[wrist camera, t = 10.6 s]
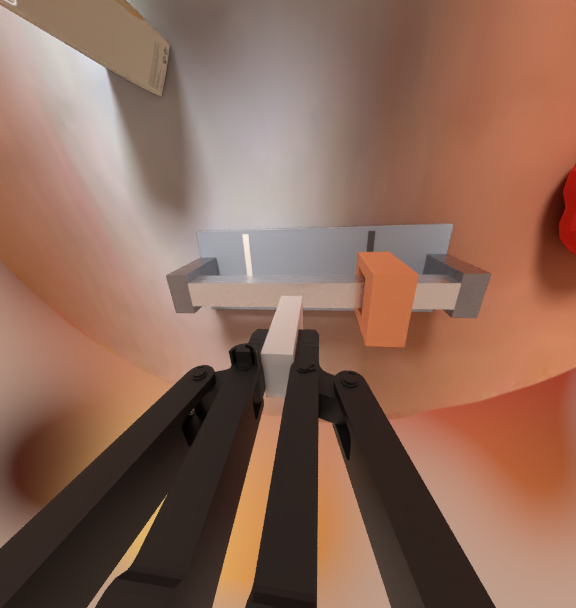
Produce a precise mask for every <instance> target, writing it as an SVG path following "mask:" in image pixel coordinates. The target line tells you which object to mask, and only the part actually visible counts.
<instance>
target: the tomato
mask: <svg viewBox="0 0 576 608" xmlns="http://www.w3.org/2000/svg"><path fill="white" fill-rule="evenodd" d="M563 195H564V201H565V207H566V208H565V210H564V213H563V215H562V217H561V220H560V222H559V237H560V239H561V241H562V243H563V244H564V245H565V247H566V248H567V249H568V250H569V251H570V252H572V253H574V254H576V164H575V166H574V167H573V169H572V170H571V171H570V173H569V174H568V177H567V180H566V183H565V186H564V189H563Z"/></svg>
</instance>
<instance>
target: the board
mask: <svg viewBox="0 0 576 608" xmlns="http://www.w3.org/2000/svg"><path fill="white" fill-rule="evenodd" d="M453 225H454V224H449V223H446V224H413V225H381V226H349V227H316V228H284V229H252V230H219V231H198V232H196V236H197V241H198V246H199V251H200V256H201V258H204V257H216V259H217V265H218V270H219V276H231V275H356V266H357V253H358V252H390V253H392V254H393V255H394V256H396V257H397V258H398V259H399V260H401V261H402V262H403V263H405V264H406V265H407V266H408V267H410V268H411V269H412V270H414V271H415V272H416V273H417V274H419V275H423V270H424V265H425V260H426V255H427V254H447V250H448V246H449V242H450V237H451V233H452V229H453ZM211 309H256V310H276V309H277V307H219V306H211ZM303 310H325V311H354V308H303ZM412 312H433V309H412Z"/></svg>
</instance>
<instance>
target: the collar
mask: <svg viewBox="0 0 576 608" xmlns="http://www.w3.org/2000/svg"><path fill="white" fill-rule="evenodd" d="M356 275H364V277H365V287H364V297H363V307H362V308H354V311H355V314H356V317H357V320H358V324H359V327H360V330H361V333H362V337H363V340H364V343H365V346H380V347H405V342H406V337H407V332H408V327H409V322H410V317H411V312H412V307H413V302H414V297H415V292H416V287H417V281H418V276H419V274H417V273H416V272H415V271H414V270H412V269H411V268H410V267H408V266H407V265H406V264H405V263H403V262H402V261H401V260H399V259H398V258H397V257H396V256H394V255H393V254H392V253H390V252H358V253H357V266H356Z"/></svg>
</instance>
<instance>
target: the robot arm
mask: <svg viewBox="0 0 576 608" xmlns="http://www.w3.org/2000/svg"><path fill="white" fill-rule="evenodd" d="M229 354H230V359H231V364H232V366H231V368H230V369H227V370H222V371H217V372H214V369H213V368H212V367H211V366H208V365H202V366H197V367H195V368H193V369H191V370H190V371H189V372H187V373H186V374H185V375H184V376H183V377H182V378H181V379H180V380H179V381H178V382H177V383H176V384H175V385H174V386H173V387H172V388H170V389H169V391H167V392H166V393H165V394H164V395H163V396H162V397H161V398H160V399H159V400H158V401H157V402H156V403H155V404H154V405H152V406H151V407H150V408H149V409H148V410H147V411H146V412H145V413H144V414H143V415H142V416H141V417H140V418H139V419H137V420H136V421H135V422H134V423H133V424H132V425H131V426H130V427H129V428H128V429H127V430H126V431H125V432H124V433H123V434H122V435H120V436H119V438H117V439H116V440H115V441H114V442H113V443H112V444H111V445H110V446H109V447H108V448H107V449H106V450H105V451H104V452H102V453H101V454H100V455H99V456H98V457H97V458H96V459H95V460H94V461H93V462H92V463H91V464H90V465H89V466H88V467H86V468H85V469H84V470H83V471H82V472H81V473H80V474H79V475H78V476H77V477H76V478H75V479H74V480H73V481H72V482H70V484H68V485H67V486H66V487H65V488H64V489H63V490H62V491H61V492H60V493H59V494H58V495H57V496H56V497H55V498H53V499H52V500H51V501H50V502H49V503H48V504H47V505H46V506H45V507H44V508H43V509H42V510H41V511H40V512H39V513H38V514H37V515H35V516H34V517H33V518H32V519H31V520H30V521H29V522H28V523H27V524H26V525H25V526H24V527H23V528H22V529H21V530H19V531H18V532H17V534H15V535H14V536H13V537H12V538H11V539H10V540H9V541H8V542H7V543H6V544H5V545H3V546H2V548H0V608H87V607H88V605H89V604H90V602H91V601H92V600H93V598H94V597H95V595H96V594H97V593H98V591H99V590H100V588H101V587H102V585H103V584H104V582H105V581H106V580H107V578H108V577H109V575H110V574H111V573H112V571H113V570H114V568H115V567H116V566H117V564H118V563H119V561H120V560H121V559H122V557H123V556H124V554H125V553H126V552H127V550H128V549H129V547H130V546H131V545H132V543H133V542H134V540H135V539H136V538H137V536H138V535H139V533H140V532H141V530H142V529H143V528H144V526H145V525H146V523H147V522H148V521H149V519H150V518H151V516H152V515H153V514H154V512H155V511H156V509H157V508H158V506H159V505H160V504H161V502H162V501H163V499H164V498H165V497H166V498H165V500H164V502H163V504H162V506H161V508H160V510H159V512H158V514H157V516H156V518H155V520H154V523H153V524H152V526H151V528H150V530H149V532H148V534H147V536H146V538H145V540H144V542H143V545H142V546H141V548H140V550H139V553H138V555H137V556H136V558H135V560H134V562H133V563H132V565H131V566H130V568H128V570H127V571H125V572H124V573H122V574H121V575H119V576H118V577H117V578H115V579H114V580H113V582H112V583H111V584H110V585H109V586H108V588H107V589H106V590H105V592H104V593H103V595H102V597H101V598H100V600H99V602H98V603H97V605H96V607H95V608H212V606H213V602H214V598H215V594H216V590H217V586H218V582H219V578H220V574H221V571H222V567H223V563H224V559H225V554H226V551H227V547H228V543H229V539H230V535H231V531H232V527H233V523H234V519H235V516H236V512H237V508H238V504H239V500H240V496H241V492H242V488H243V484H244V481H245V477H246V473H247V469H248V465H249V461H250V457H251V453H252V449H253V446H254V441H255V438H256V434H257V430H258V426H259V422H260V418H261V414H262V410H263V406H264V399H263V395H264V392H265V393H266V397H281V398H285V402H284V407H283V413H282V419H281V425H280V431H279V437H278V443H277V449H276V455H275V461H274V467H273V472H272V478H271V485H270V490H269V496H268V502H267V508H266V514H265V520H264V526H263V531H262V538H261V543H260V549H259V555H258V561H257V567H256V573H255V578H254V583H253V587H252V591H251V594H250V596H249V598H248V600H247V603H246V607H245V608H317V525H318V518H317V517H318V418H321V419H324V420H326V421H329V422H331V423H333V428H334V431H335V434H336V437H337V440H338V443H339V446H340V450H341V453H342V456H343V459H344V462H345V465H346V468H347V471H348V474H349V478H350V480H351V484H352V487H353V489H354V493H355V496H356V499H357V502H358V505H359V509H360V512H361V515H362V518H363V521H364V524H365V527H366V530H367V533H368V537H369V539H370V543H371V546H372V549H373V552H374V555H375V558H376V561H377V564H378V568H379V571H380V574H381V577H382V580H383V583H384V586H385V589H386V592H387V596H388V599H389V602H390V605H391V608H496V607H495V605H494V604H493V602H492V600H491V598H490V597H489V595H488V594H487V591H486V590H485V588H484V586H483V585H482V583H481V581H480V579H479V578H478V576H477V574H476V572H475V571H474V569H473V567H472V565H471V564H470V562H469V560H468V558H467V557H466V555H465V553H464V551H463V550H462V548H461V546H460V545H459V543H458V541H457V539H456V537H455V536H454V534H453V532H452V531H451V529H450V527H449V525H448V524H447V522H446V520H445V518H444V517H443V515H442V513H441V511H440V510H439V508H438V506H437V504H436V503H435V501H434V499H433V497H432V496H431V494H430V492H429V491H428V489H427V487H426V485H425V483H424V482H423V480H422V478H421V476H420V475H419V473H418V471H417V469H416V468H415V466H414V464H413V462H412V461H411V459H410V457H409V455H408V454H407V452H406V450H405V449H404V447H403V445H402V443H401V442H400V440H399V438H398V436H397V435H396V433H395V431H394V429H393V428H392V426H391V424H390V422H389V421H388V419H387V417H386V415H385V414H384V412H383V410H382V408H381V407H380V405H379V403H378V401H377V400H376V398H375V396H374V395H373V393H372V391H371V389H370V388H369V386H368V384H367V382H366V381H365V379H364V378H363V377H362V376H361V375H360V374H358V373H357V372H353V371H342V372H339V373H338V374H336V376H335V375H332V374H329V373H327V372H325V371H323V370H322V369H321V367H320V366H319V334H318V333H317V331H316V330H303V301H302V296H281V298H280V301H279V304H278V307H277V309H276V312H275V315H274V318H273V320H272V323H271V326H270V329H257V330H256V331H255V332H254V333H253V334H252V336H251V338H250V340H249V342H248V344H247V343H246V344H239V345H236V346H234V347H233V348H231V350H230V351H229ZM193 409H194V410H193ZM192 410H193V411H192ZM191 411H192V412H191ZM190 412H191V413H190ZM166 495H167V496H166Z"/></svg>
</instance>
